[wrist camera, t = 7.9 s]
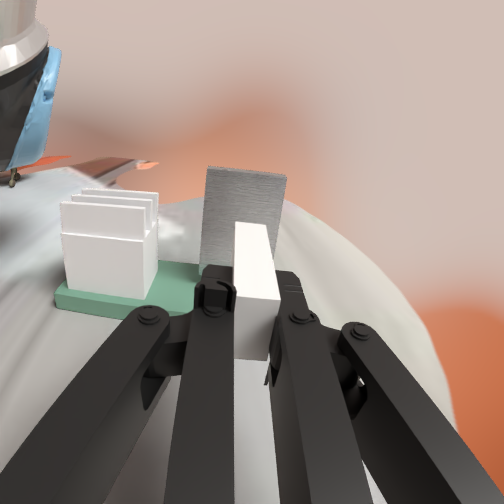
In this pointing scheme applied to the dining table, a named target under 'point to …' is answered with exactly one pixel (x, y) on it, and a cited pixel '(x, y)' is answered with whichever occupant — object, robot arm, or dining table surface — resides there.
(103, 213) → the heat-sink mount
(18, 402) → the dining table surface
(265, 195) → the plate
